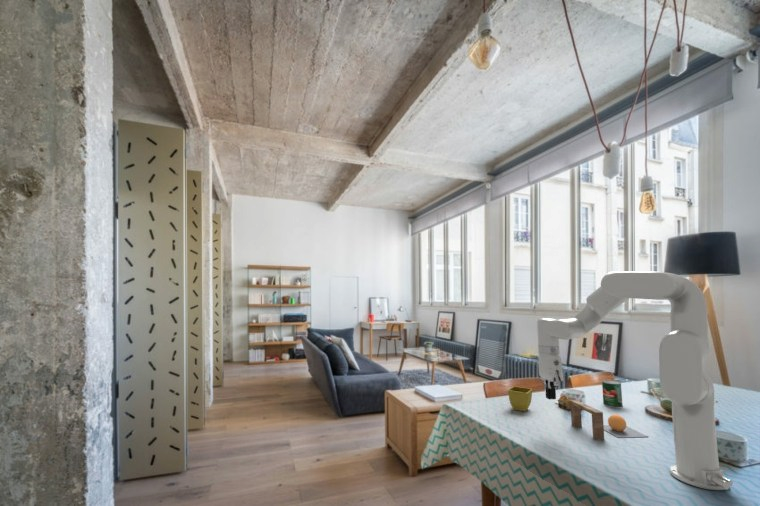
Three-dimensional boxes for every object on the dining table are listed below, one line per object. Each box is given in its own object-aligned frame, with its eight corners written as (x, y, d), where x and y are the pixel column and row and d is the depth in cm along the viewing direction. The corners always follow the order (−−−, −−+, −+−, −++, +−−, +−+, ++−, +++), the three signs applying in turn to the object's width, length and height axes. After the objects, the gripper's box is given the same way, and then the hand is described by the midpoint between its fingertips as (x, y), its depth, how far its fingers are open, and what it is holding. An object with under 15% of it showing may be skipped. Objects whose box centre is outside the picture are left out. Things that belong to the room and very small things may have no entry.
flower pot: (528, 414, 159) (527, 393, 160) (508, 410, 164) (507, 389, 165) (533, 409, 166) (532, 388, 167) (513, 405, 171) (513, 385, 172)
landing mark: (648, 437, 134) (648, 436, 134) (618, 437, 133) (618, 437, 133) (624, 425, 146) (624, 424, 146) (596, 426, 145) (596, 425, 145)
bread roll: (581, 419, 163) (589, 403, 163) (559, 408, 165) (566, 392, 165) (574, 412, 172) (581, 397, 173) (553, 401, 175) (560, 387, 175)
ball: (617, 416, 137) (614, 432, 136) (631, 420, 138) (628, 435, 137) (606, 410, 143) (602, 425, 142) (619, 413, 144) (616, 428, 143)
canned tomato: (622, 404, 174) (620, 381, 175) (623, 408, 167) (621, 384, 168) (603, 401, 178) (601, 379, 179) (603, 405, 171) (601, 382, 173)
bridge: (604, 439, 131) (602, 412, 132) (596, 440, 131) (595, 412, 132) (578, 424, 146) (577, 400, 147) (571, 425, 145) (570, 400, 147)
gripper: (569, 353, 133) (571, 404, 131) (547, 347, 148) (549, 393, 146) (550, 353, 133) (552, 404, 131) (530, 347, 148) (531, 393, 146)
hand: (550, 398), depth 138 cm, fingers closed
